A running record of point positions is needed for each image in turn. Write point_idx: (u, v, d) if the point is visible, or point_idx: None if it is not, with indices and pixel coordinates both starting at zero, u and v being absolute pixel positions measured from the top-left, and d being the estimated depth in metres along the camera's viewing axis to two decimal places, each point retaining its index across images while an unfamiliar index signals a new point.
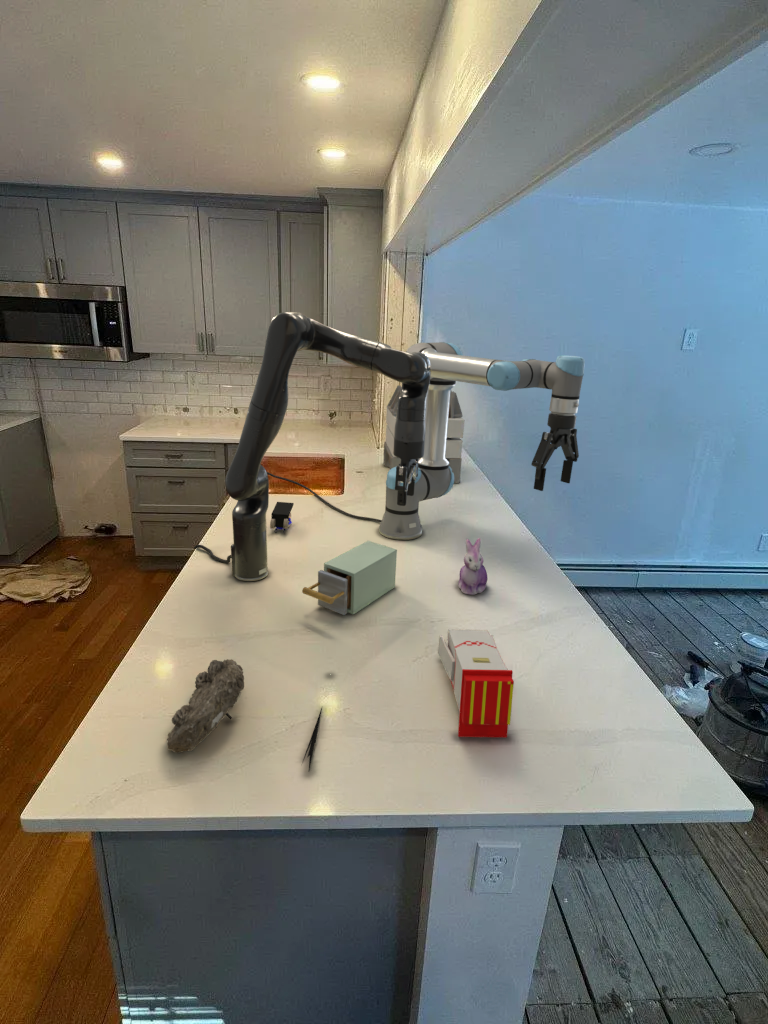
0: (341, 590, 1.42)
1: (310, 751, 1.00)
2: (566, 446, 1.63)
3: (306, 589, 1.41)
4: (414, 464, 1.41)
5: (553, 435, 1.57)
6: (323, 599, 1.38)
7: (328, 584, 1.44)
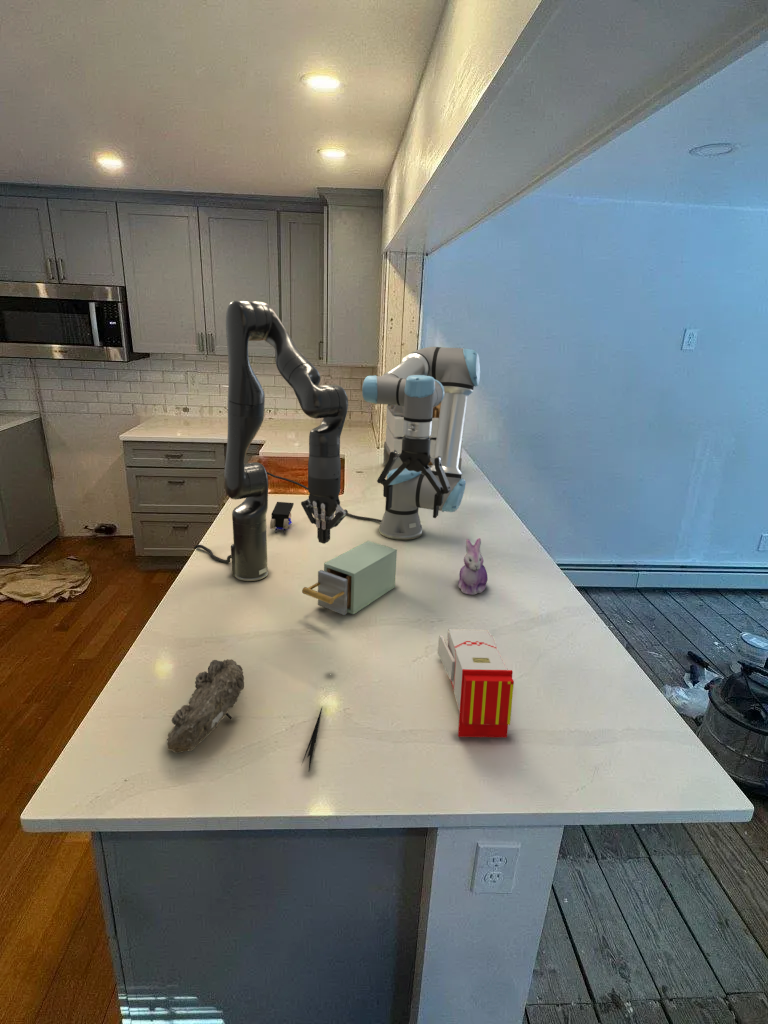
0: (341, 590, 1.42)
1: (310, 751, 1.00)
2: None
3: (306, 589, 1.41)
4: None
5: (399, 456, 1.51)
6: (323, 599, 1.38)
7: (328, 584, 1.44)
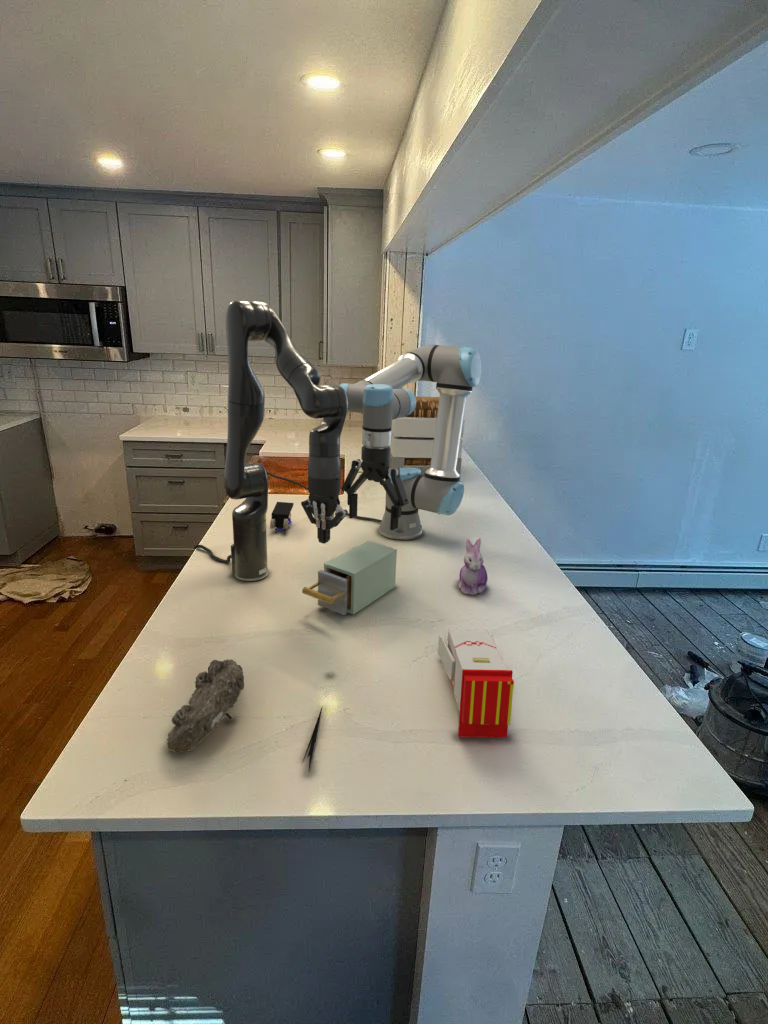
0: (341, 590, 1.42)
1: (310, 751, 1.00)
2: None
3: (306, 589, 1.41)
4: None
5: (360, 464, 1.50)
6: (323, 599, 1.38)
7: (328, 584, 1.44)
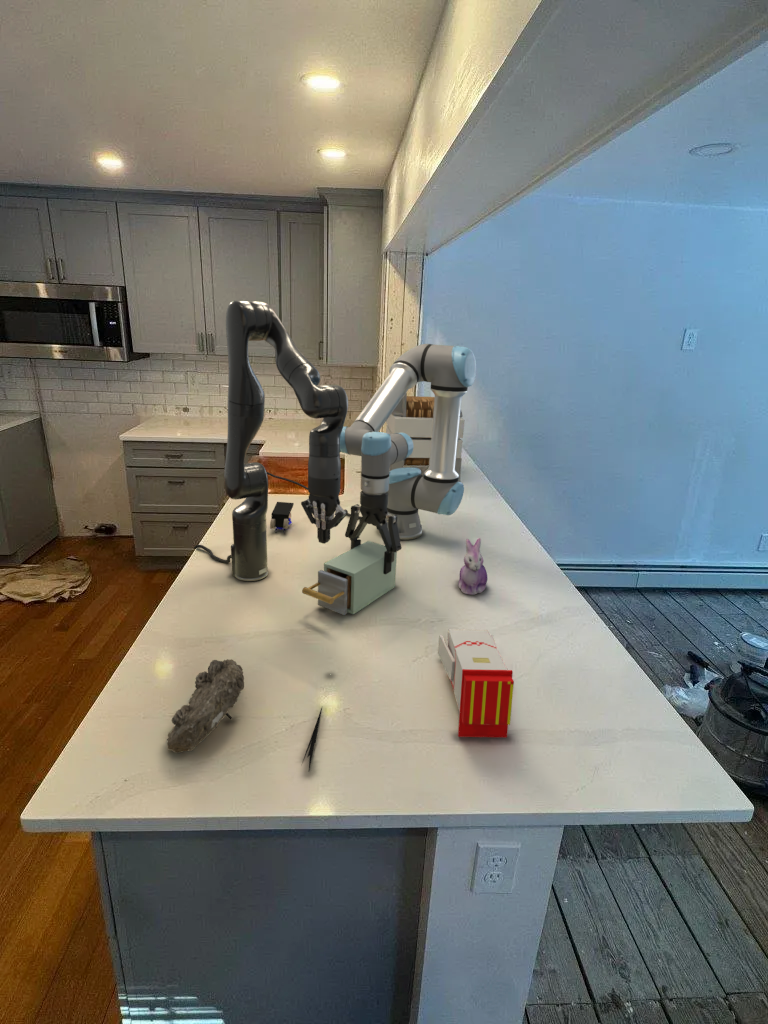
0: (341, 590, 1.42)
1: (310, 751, 1.00)
2: None
3: (306, 589, 1.41)
4: None
5: (359, 508, 1.54)
6: (323, 599, 1.38)
7: (328, 584, 1.44)
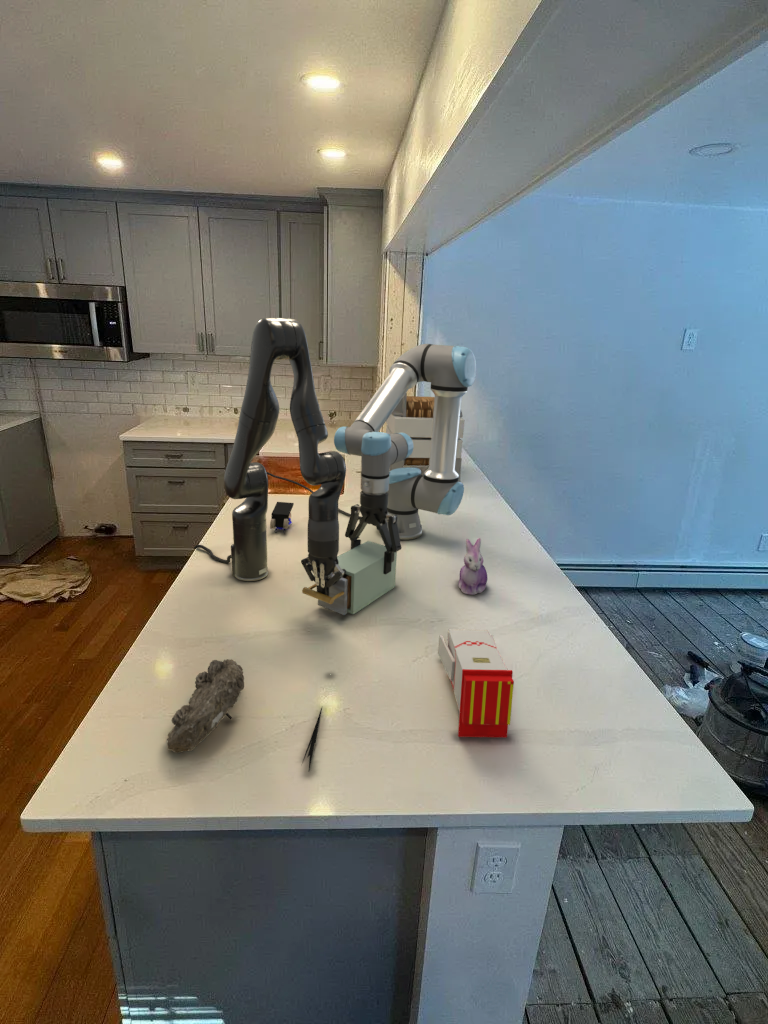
0: (341, 590, 1.42)
1: (310, 751, 1.00)
2: None
3: (306, 589, 1.41)
4: None
5: (359, 508, 1.54)
6: (323, 599, 1.38)
7: None
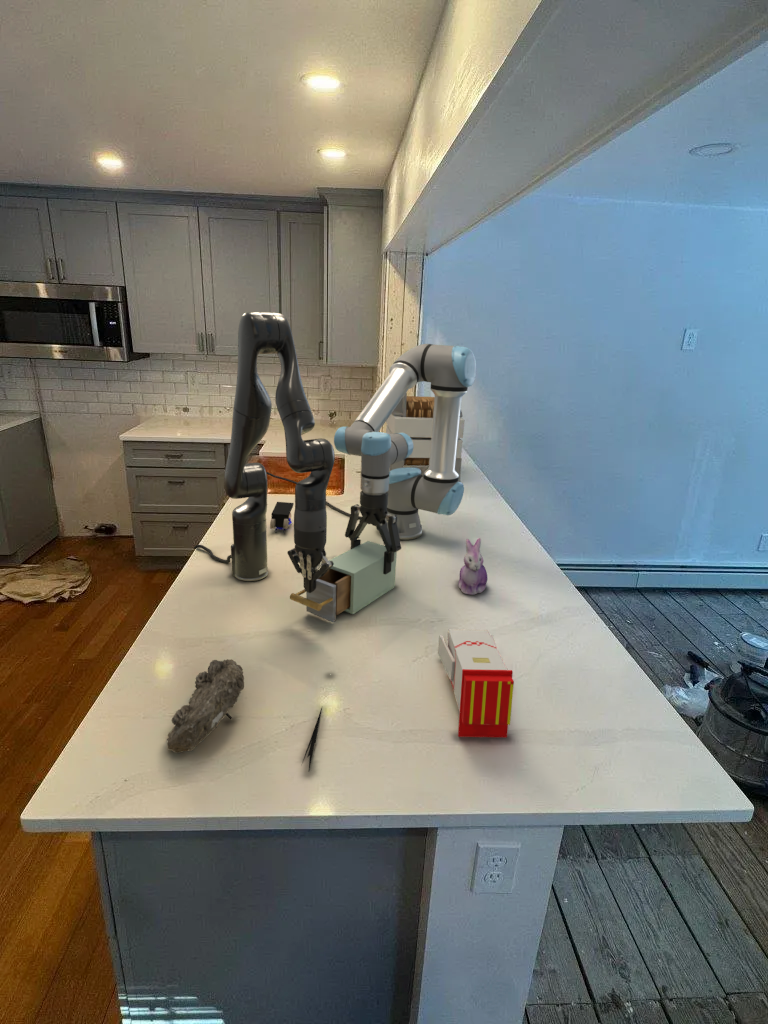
0: (329, 596, 1.39)
1: (310, 751, 1.00)
2: None
3: (293, 595, 1.38)
4: None
5: (359, 508, 1.54)
6: (311, 606, 1.34)
7: (316, 590, 1.41)
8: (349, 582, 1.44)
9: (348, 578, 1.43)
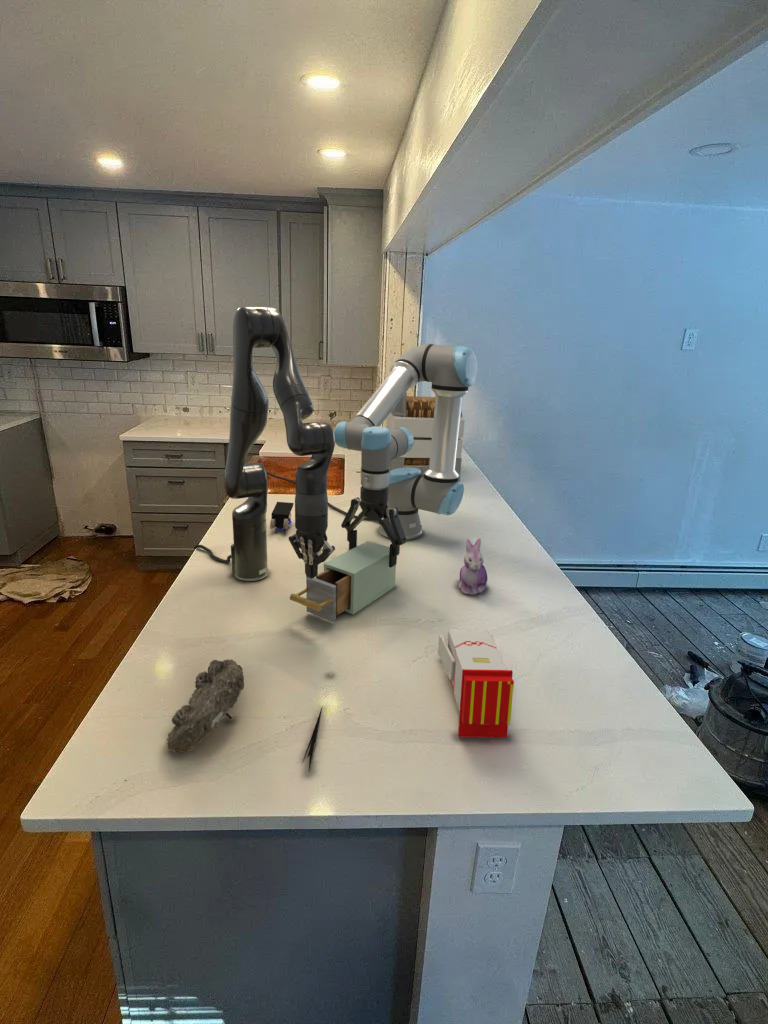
0: (330, 597, 1.39)
1: (310, 751, 1.00)
2: None
3: (294, 596, 1.38)
4: None
5: (359, 503, 1.54)
6: (311, 606, 1.35)
7: (316, 590, 1.41)
8: (349, 582, 1.44)
9: (348, 578, 1.43)
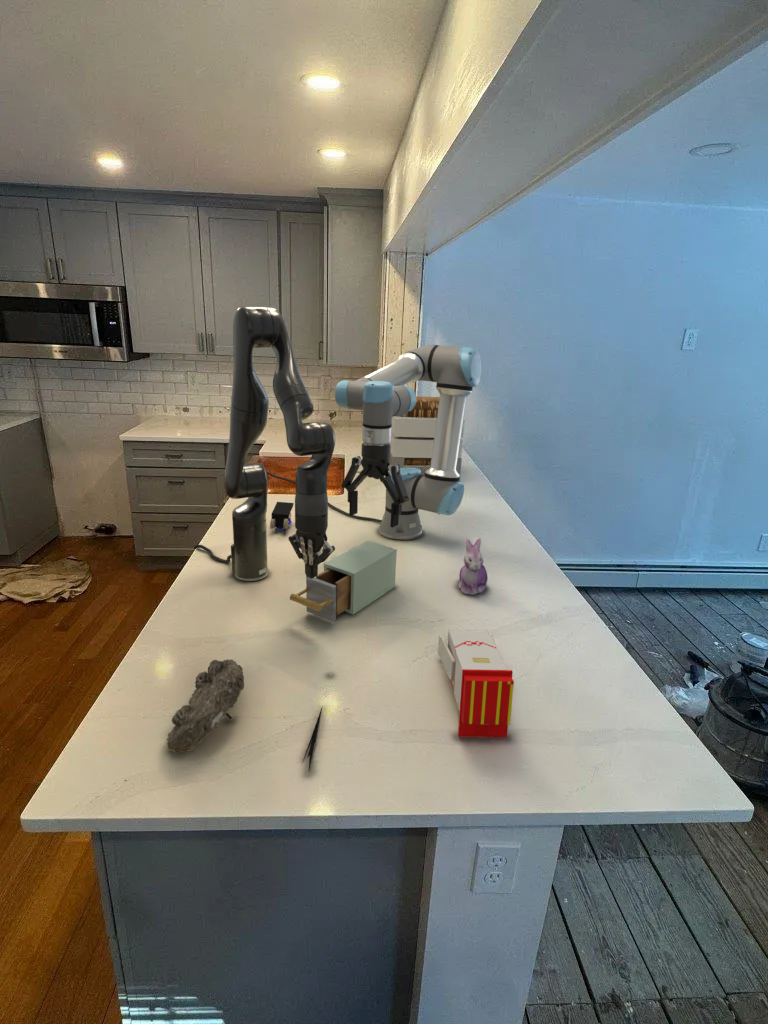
0: (330, 597, 1.39)
1: (310, 751, 1.00)
2: None
3: (294, 596, 1.38)
4: None
5: (361, 461, 1.50)
6: (311, 606, 1.35)
7: (316, 590, 1.41)
8: (349, 582, 1.44)
9: (348, 578, 1.43)
